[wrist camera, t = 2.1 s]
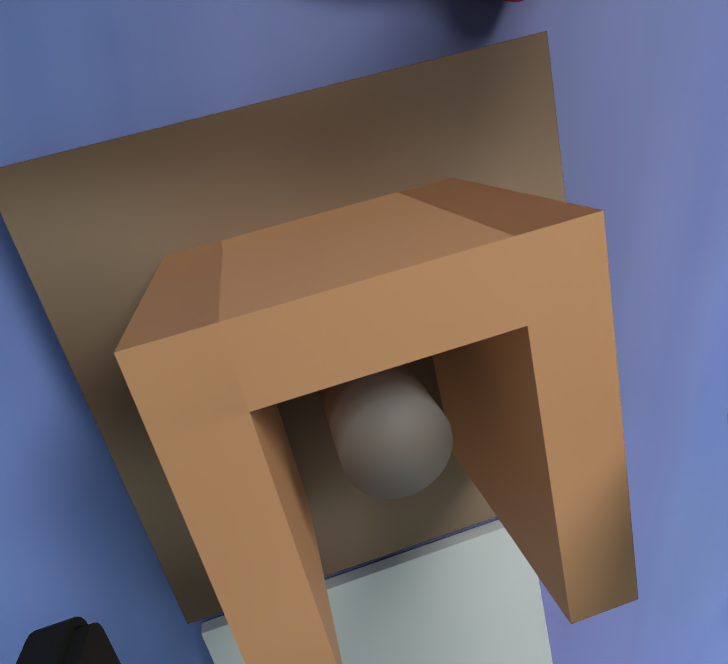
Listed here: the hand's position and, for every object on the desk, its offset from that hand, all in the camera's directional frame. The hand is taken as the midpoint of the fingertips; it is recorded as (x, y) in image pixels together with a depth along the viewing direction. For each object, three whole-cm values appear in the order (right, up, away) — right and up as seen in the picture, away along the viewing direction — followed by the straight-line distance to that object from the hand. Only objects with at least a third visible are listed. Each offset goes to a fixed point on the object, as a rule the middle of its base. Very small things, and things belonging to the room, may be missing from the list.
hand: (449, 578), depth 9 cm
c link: (-2, +3, +6) cm, 7 cm away
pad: (0, -8, +11) cm, 14 cm away
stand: (-2, +3, +7) cm, 8 cm away
